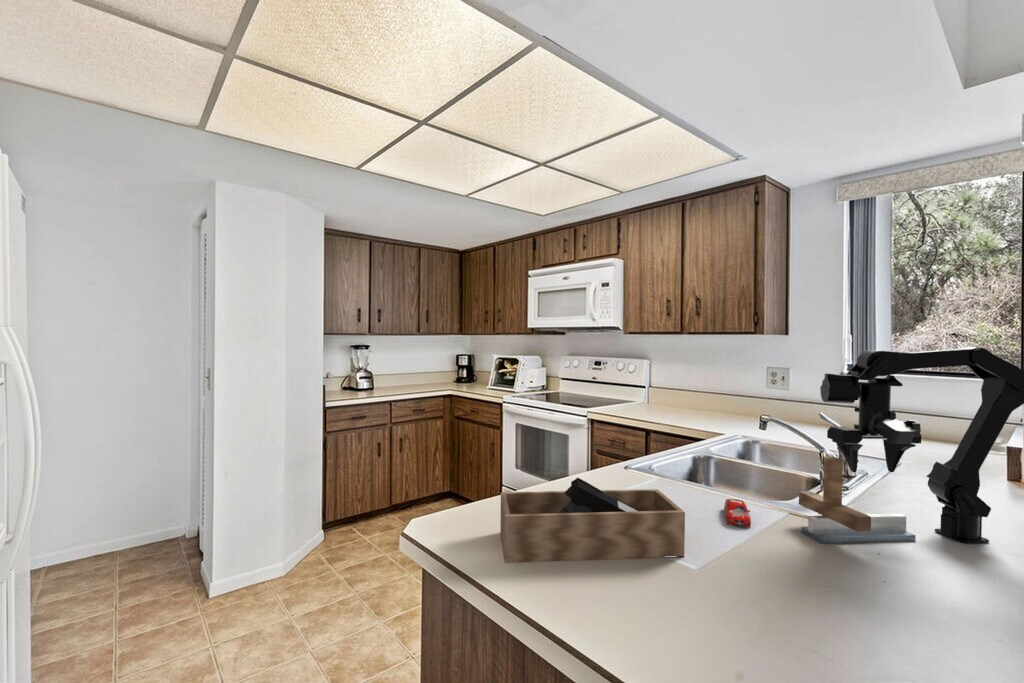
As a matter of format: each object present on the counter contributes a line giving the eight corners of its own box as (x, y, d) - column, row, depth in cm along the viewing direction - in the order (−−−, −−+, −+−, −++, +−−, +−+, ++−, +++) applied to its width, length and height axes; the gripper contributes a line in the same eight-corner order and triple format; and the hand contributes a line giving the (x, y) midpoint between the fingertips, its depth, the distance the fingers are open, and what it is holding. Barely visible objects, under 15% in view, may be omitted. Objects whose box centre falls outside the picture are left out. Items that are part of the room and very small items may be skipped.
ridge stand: (891, 529, 109) (891, 509, 109) (915, 540, 103) (915, 520, 103) (800, 531, 107) (801, 512, 107) (820, 543, 101) (820, 522, 101)
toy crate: (657, 528, 109) (657, 489, 108) (684, 556, 95) (684, 512, 95) (500, 532, 106) (500, 492, 105) (504, 562, 92) (505, 516, 92)
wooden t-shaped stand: (798, 504, 112) (799, 449, 112) (810, 503, 113) (811, 449, 113) (858, 532, 97) (859, 468, 96) (870, 531, 97) (872, 468, 97)
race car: (752, 531, 108) (752, 514, 108) (726, 528, 110) (726, 511, 110) (747, 511, 120) (747, 495, 120) (723, 508, 122) (723, 493, 122)
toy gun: (631, 585, 103) (661, 521, 104) (542, 543, 96) (576, 477, 98) (623, 577, 106) (653, 516, 108) (537, 537, 100) (569, 472, 102)
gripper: (865, 410, 101) (862, 483, 101) (946, 410, 102) (944, 482, 102) (826, 402, 112) (824, 468, 112) (900, 403, 113) (898, 468, 113)
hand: (872, 471), depth 110 cm, fingers open, 9 cm apart
